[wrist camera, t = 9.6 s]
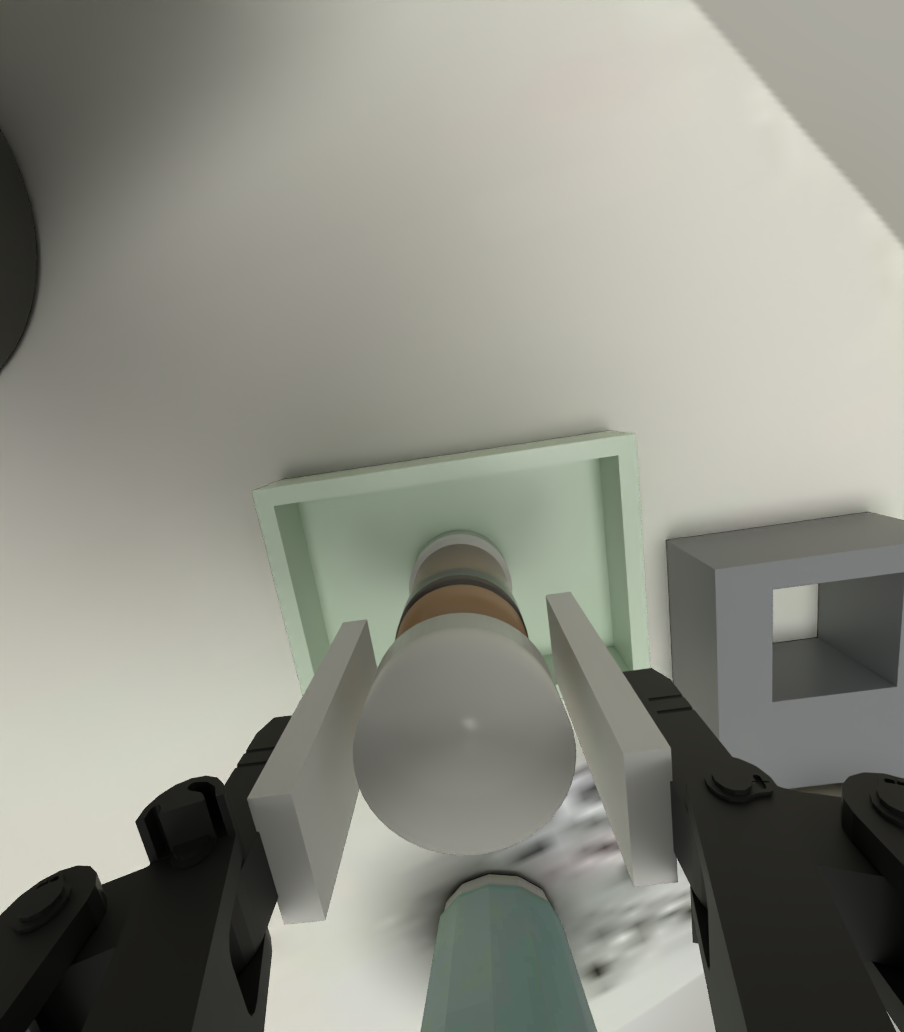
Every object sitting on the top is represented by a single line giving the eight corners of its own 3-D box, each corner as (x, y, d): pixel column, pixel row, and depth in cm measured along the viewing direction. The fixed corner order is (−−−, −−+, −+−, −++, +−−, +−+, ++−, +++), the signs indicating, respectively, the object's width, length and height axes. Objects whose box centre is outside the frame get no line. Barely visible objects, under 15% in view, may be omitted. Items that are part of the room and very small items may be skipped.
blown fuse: (406, 536, 20) (333, 669, 8) (500, 523, 20) (562, 638, 8) (421, 625, 21) (373, 867, 9) (512, 613, 21) (587, 841, 9)
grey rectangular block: (666, 540, 21) (714, 569, 17) (869, 511, 20) (967, 535, 16) (680, 826, 24) (723, 906, 20) (853, 807, 24) (931, 884, 20)
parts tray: (281, 479, 20) (251, 491, 17) (609, 430, 20) (636, 433, 17) (330, 689, 23) (311, 730, 20) (625, 651, 22) (651, 687, 19)
